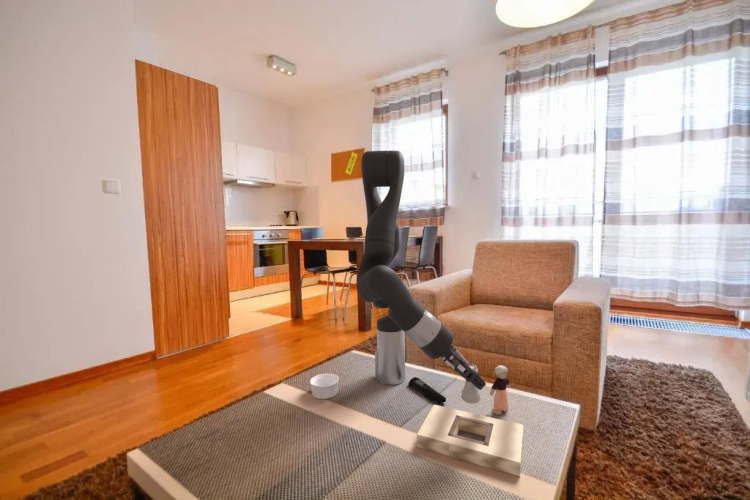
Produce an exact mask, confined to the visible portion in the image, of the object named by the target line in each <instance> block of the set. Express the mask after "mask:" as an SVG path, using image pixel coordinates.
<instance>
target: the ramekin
mask: <svg viewBox="0 0 750 500" xmlns="http://www.w3.org/2000/svg"><path fill="white" fill-rule="evenodd" d="M339 382H340V378H339V376H338V375H337V374H334V373H321V374H317V375H314V376H313V377H311V378H310V380H309V385H310V389H311V395H312V397H313V398H315V399H318V400H327V399H331V398H333V397H335V396H336V395H338V394H337V393H338V392H339Z"/></svg>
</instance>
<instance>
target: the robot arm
mask: <svg viewBox="0 0 750 500" xmlns="http://www.w3.org/2000/svg"><path fill="white" fill-rule="evenodd" d="M360 167H361V169H360V170H361V171H360V172H361V177H362V178H361V179H362V185H363V193H364V198H365V199H364V201H365V207H366V220H367V221H366V222H367V223H366V227H365V235H364V244H363V245H364V246H363V250H364V251H363V254H362V258H361V261H360V264H359V266H358V267H359V268H358V271H357V277H356V284H355V285H356V291H357V294H358V295H359V298H361V300H363V301H364V302H367V303H372V305H373V306H374V307H375V308H377V309H387V315H385V316H384V315H383V316H381V317H379V318H378V319H377V320H376V346H377V347H376V350H375V352H374V374H375V375H374V376H375V377H374V379H375V380H376V381H378V382H380V383H381V384H384V385H392V386H393V385H400V384H402V383H404V381H405V380H406V336H407V337H408V339H409V340H411V342H413V344H415V345H416V346H417V347H418V348H419V349H420V350H421V351H422V352H423V353H424V354H425V355H426V356H427V357H428V358H430V359H431V360H436V359H439V358H441V359H442V360H443V362H444V363H445V364H446V365H447V366H448V367H451V368H452V369H453V370H454V372H456V374H458V375H460V376H461V377H462V378H463V379H465V381H467V382H471V383H472V384H473V385H475V386H476V387H477V388H478V390H479V391H481V390H482V389H483V388H485V387H486V386H487V383H486V382H485V380H484V379H483V378H482V377H481V376H480V375H479V372H477V374H476V372H475V370H473V369H472V368H471V367H470V366H471V365H470V366H469V364H470V362H469V361H468V360H467V359H466V358H465V356H464V355H463V354H462V353H461V352H460V351H459V350H458V348H457V347H456V346H455V345H454V344H453V342H454V334H453V333H452V332H451V331H450V330H449V329H447V327H446V326H445V325H444V324H443V323H442V322H441V321H440V320H439V319H437V318H436V316H434V315H433V313H431V312H430V311H428V310H427V309H425V308H424V307H423V306H422V305H421V304H420V302H419V301H418V300H417V299H415V298H414V297H413V296H412V295H411V293H410V291H409V289H408V288H407V286H406V284H405V283H404V281H403V280H402V278H401V277H400V276H399V274H398V273H397V272H396V271H395V270H394V269H392V268H390V264H391V263H392V262H393V261H394V259H395V258H396V256H397V255H398V253H399V251H400V244H401V243H400V240H401V239H400V226H399V224H398V223H397V219H398V214H399V213H398V212H399V208H400V203H401V198H402V193H403V192H402V191H403V187H404V181H405V179H404V177H405V158H404V155H403V153H402V152H401V151H399V150H367V151H364V152H363V154H362V156H361V161H360ZM378 188H389V189H388V191H387V193H386V194H387V195H386V196H385V197H384V199H383V200H381V198H380V195H379V192H378Z"/></svg>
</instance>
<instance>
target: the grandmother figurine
mask: <svg viewBox="0 0 750 500" xmlns="http://www.w3.org/2000/svg"><path fill="white" fill-rule="evenodd" d="M508 371H509V370H508V368H507V367H506V366H505V365H502V364H501V365H500V364H499V365H498V366H495V368H494V372H495V374H496V376H497V378H495V380H494V382H493V383H492V386H491V389H490V392H489V395H490V396H494V397H493V408H492V412H493V414H495V415H497V416H498V415H499V416H501V415H503V413H506V412H508V411H509V402H508V393H507V392H508V391H507V389H510V388H511V387H512V386H511V382H510V380H509V379H508V378H507V373H508Z"/></svg>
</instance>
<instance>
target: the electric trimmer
mask: <svg viewBox="0 0 750 500" xmlns="http://www.w3.org/2000/svg"><path fill="white" fill-rule="evenodd" d="M408 386H409V387H413V388H414V389H416V390H418V391H419V392H420V393H422V394H423V395H424V398H427V399H429V400H431V401H433V402H435V403H437V404H443V403H445V402H446V401H447V397H445V396H444V395H442V394H441V393H440V392H438V391H436V389H435V388H433V387H431V385H428V383H426V382H424V381H423V380H422V379H420V378H419V377H417V376H414V377H411V379H410V380H409V381H408Z"/></svg>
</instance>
